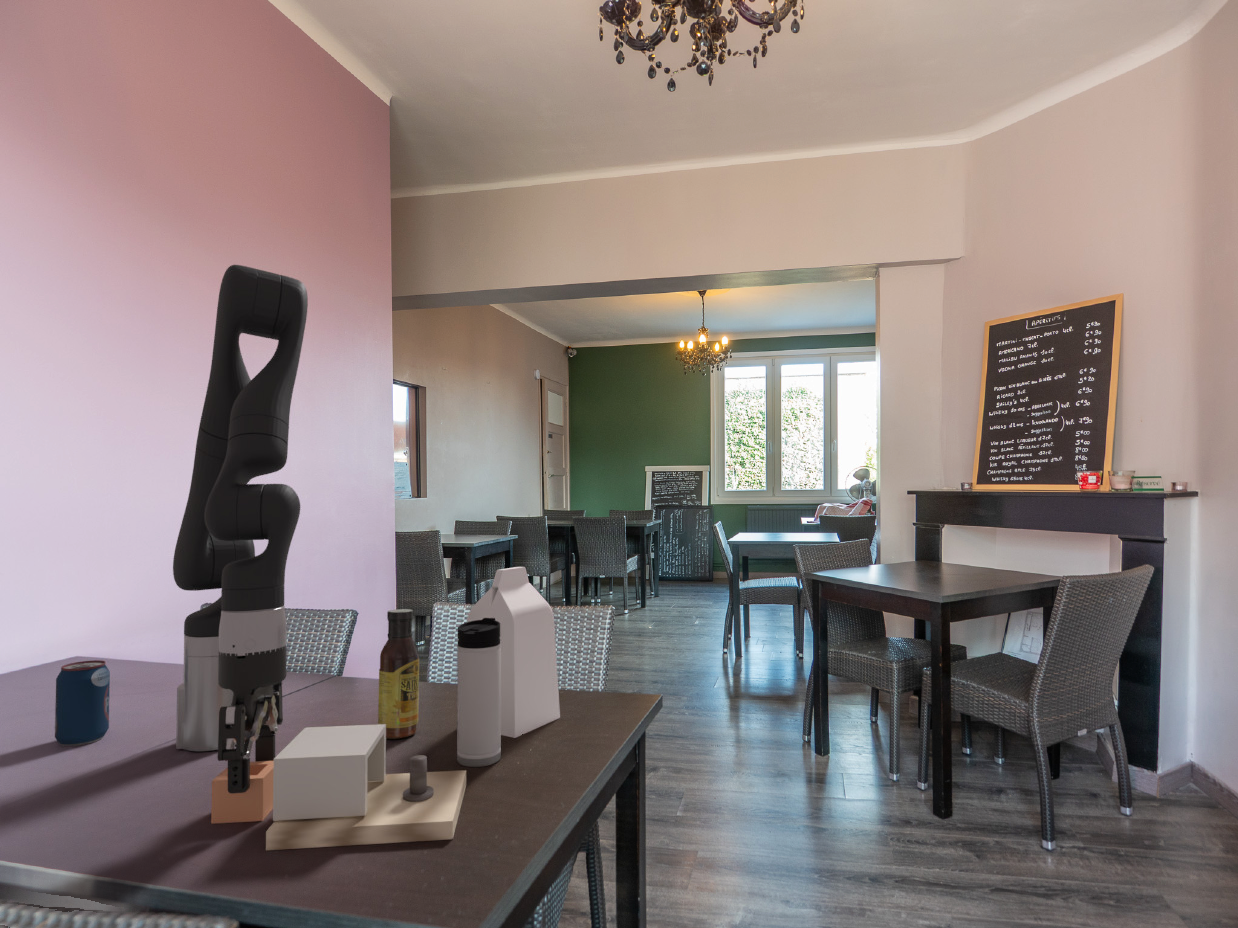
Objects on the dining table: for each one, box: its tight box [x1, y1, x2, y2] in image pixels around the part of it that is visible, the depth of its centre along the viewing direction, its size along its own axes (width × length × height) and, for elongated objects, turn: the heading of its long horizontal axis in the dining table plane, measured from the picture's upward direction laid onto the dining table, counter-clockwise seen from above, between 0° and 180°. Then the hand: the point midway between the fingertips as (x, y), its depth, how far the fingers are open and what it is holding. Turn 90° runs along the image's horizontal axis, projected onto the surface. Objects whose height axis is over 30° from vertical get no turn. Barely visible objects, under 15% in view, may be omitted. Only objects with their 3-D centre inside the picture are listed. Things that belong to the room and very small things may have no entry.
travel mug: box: [456, 618, 502, 768], centre depth 105 cm, size 6×7×20 cm
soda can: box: [54, 659, 111, 747], centre depth 115 cm, size 7×7×12 cm
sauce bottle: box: [377, 608, 420, 740], centre depth 117 cm, size 6×6×20 cm
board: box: [265, 754, 467, 851], centre depth 87 cm, size 20×15×6 cm
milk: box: [466, 566, 561, 739], centre depth 123 cm, size 12×12×26 cm
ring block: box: [210, 761, 274, 825], centre depth 88 cm, size 6×6×5 cm
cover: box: [272, 723, 387, 822], centre depth 87 cm, size 10×11×7 cm
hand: (252, 777), depth 88 cm, fingers open, 8 cm apart
